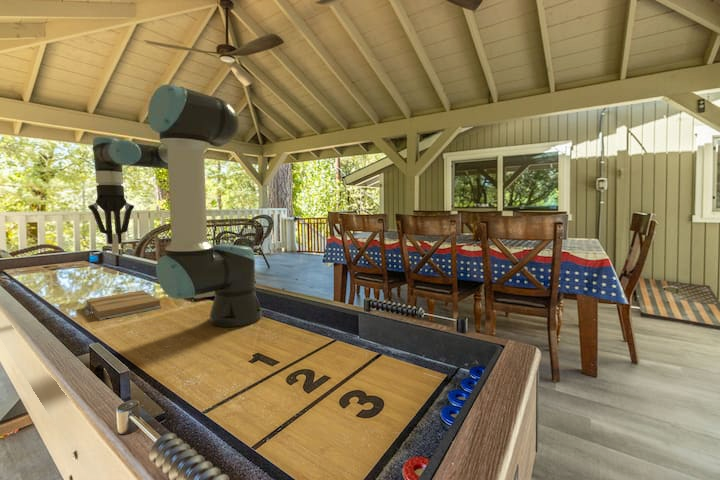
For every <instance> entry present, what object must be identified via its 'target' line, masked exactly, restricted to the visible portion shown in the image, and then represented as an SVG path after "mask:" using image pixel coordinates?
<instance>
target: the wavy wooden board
mask: <svg viewBox="0 0 720 480" xmlns="http://www.w3.org/2000/svg"><path fill="white" fill-rule="evenodd" d="M152 296H153V295H151V294H150V293H149V292H147V291H145V290H144V289H143V290H137V291H131V292H125V293H118V294H112V295H111V294H110V295H107V296H100V297H99V296H98V297H93V298H89V299H86V300H85V302H86V305H87V306H88V307H89V308H90V309H91V310H92V311H93V312H94V307H96V306H102V305H107V304H113V303H118V302H124V301H130V300H135V299H141V298H146V297H152Z"/></svg>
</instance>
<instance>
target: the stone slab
mask: <svg viewBox="0 0 720 480" xmlns="http://www.w3.org/2000/svg"><path fill="white" fill-rule="evenodd" d="M209 297H214V298H215V291H213V292H209V293H205V294H201V295H197V296H194V297H191V298H189V299H188V300H190V301H191V300H193V301H192V302H194V301H195V302H196V301H197V300H199V299H203V298H209Z"/></svg>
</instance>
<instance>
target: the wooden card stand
mask: <svg viewBox="0 0 720 480" xmlns="http://www.w3.org/2000/svg"><path fill="white" fill-rule="evenodd" d="M86 306H87V304H85V307H86ZM87 307H88V306H87ZM87 307H86V308H87ZM88 308H89V307H88ZM88 308H87V309H88ZM157 308H159V309H162V306H161V300H160V299H158V298H157V297H155V296H153V295H152V297H146V298H141V299H135V300H130V301H124V302H118V303H113V304H107V305H102V306H96V307H94V312H93V311H92V310H91V309H90V308H89V309H90V310H91V311H92V312H93V313H94V314H95V315H96V316H95V315H94V314H93V313H92V312H91V311H90V310H89V309H88V310H89V311H90V312H91V313H92V314H93V315H94V316H95V317H96V318H97V319H98V320H99V321H100V320H101V321H103V320H102V319H106V318H111V319H113V318H112V317H115V318H119V317H118V316H120V317H125V316H128V315H129V314H130V315H133V314H140V313H144V311H145V312H149V311H148V310H150V311H154V310H158V309H157ZM153 309H154V310H153ZM124 315H125V316H124ZM106 320H107V319H106Z"/></svg>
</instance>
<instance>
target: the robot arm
mask: <svg viewBox="0 0 720 480" xmlns="http://www.w3.org/2000/svg"><path fill="white" fill-rule="evenodd" d="M147 121H148V124H149V127H150V128H151V130H153V131H154V132H156V133H159V134H158V135H159V142H160V143H161V144H159V145H151V144H145V143H135V142H134V141H132V140H129V139H118V138H114V137H106V136H96V137H94V138H93V140H92V152H93V162H94V172H95V183H96V184H97V185H96V196H97V198H96V199H95V202H94V203H92V204H90V205H88V206H87V207H88V209H89V210H90V211H91V212H92V215H93V218H94V221H95V223H96V225H97V227H98V229H99V232H100V233H101V234H105V235H106V237H107V238H106V239H107V240H106V241H107V244H109V245H110V246H111V254H120V245H119V244H122V242H123V241H122V234H124V233H126V232H128V228H129V224H130V219H131V215H132V211H133V209H134V208H135V205H134V204H131V203H129V202H127V200H126V197H125V188H124V186H123V185H124V175H123V174H124V173H123V166H128V167H140V168H141V167H142V168H153V169H163V170H167V174H168V176H167V178H168V196H169V198H168V199H169V215H170V239H171V241H170V243H169V244H168V245H167V246H166V247H165V248H164V249H165V251H164V252H165V253H164V254H165V255H162V256H161V257H159V258H158V260H157V263H156V265H155V270H156V271H155V272H156V278H157V281H158V283H159V285H160V287H161V289H162V290H163V292H164V293H165V294H166V295H167V296H168V297H170V298H172V299H175V300H180V299H181V300H182V299H188V298H191V297H194V296H197V295H201V294H205V293H209V292H213V291H215V297H214V299H213V303H212V306H211V309H210V312H209V323H210V324H211V325H212V326H215V327H219V328H236V327H243V326H247V325H251V324H254V323H256V322H258V321H260V320H261V319H262V317H263V316H262V315H263V314H262V311H263V310H262V307H261V305H260V301H259V299H258V297H257V294H256V275H255V272H256V271H255V262H256V259H255V253H254V249H253V248H252V247H250V246H246V245H235V244H233V245H232V244H214V245H213V244H212V243H210V241H208V229H207V227H208V226H207V200H206V198H207V197H206V170H205V169H206V168H205V167H206V166H205V150H208V149H209V148H212V147H217V148H219V147H223V146H224V145H226V144H229V143H230V142H232V141H233V140H234V139H235V138H236V137H237V134H238V132H239V128H240V123H239V117H238V114H237V112H236V110H235V108H233V106H232V105H231V104H229V103H228V102H227V101H225V99H222V98H220V97H216V96H211V95H209V94H205V93H203V92H199V91H195V90H193V89H189V88H186V87H184V86H177V85H173V84H172V85H171V84H169V83H167V84H162V85H160V86H159V87H157V88H156V90H155V91H154V92H153V94H152V96H151V97H150V100H149V104H148V108H147ZM99 207H100V209H101V210H102V211H103V212H104V218H105V224H104V223H103V220H102V218H101V215H100V213H99ZM123 208H124V209H125V210H124V215H123V221H122V223H121V211H122V210H123ZM112 212H113V217H114V230H115V233H113V225H112V221H113V220H112ZM121 224H122V225H121ZM104 225H105V226H104Z"/></svg>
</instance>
